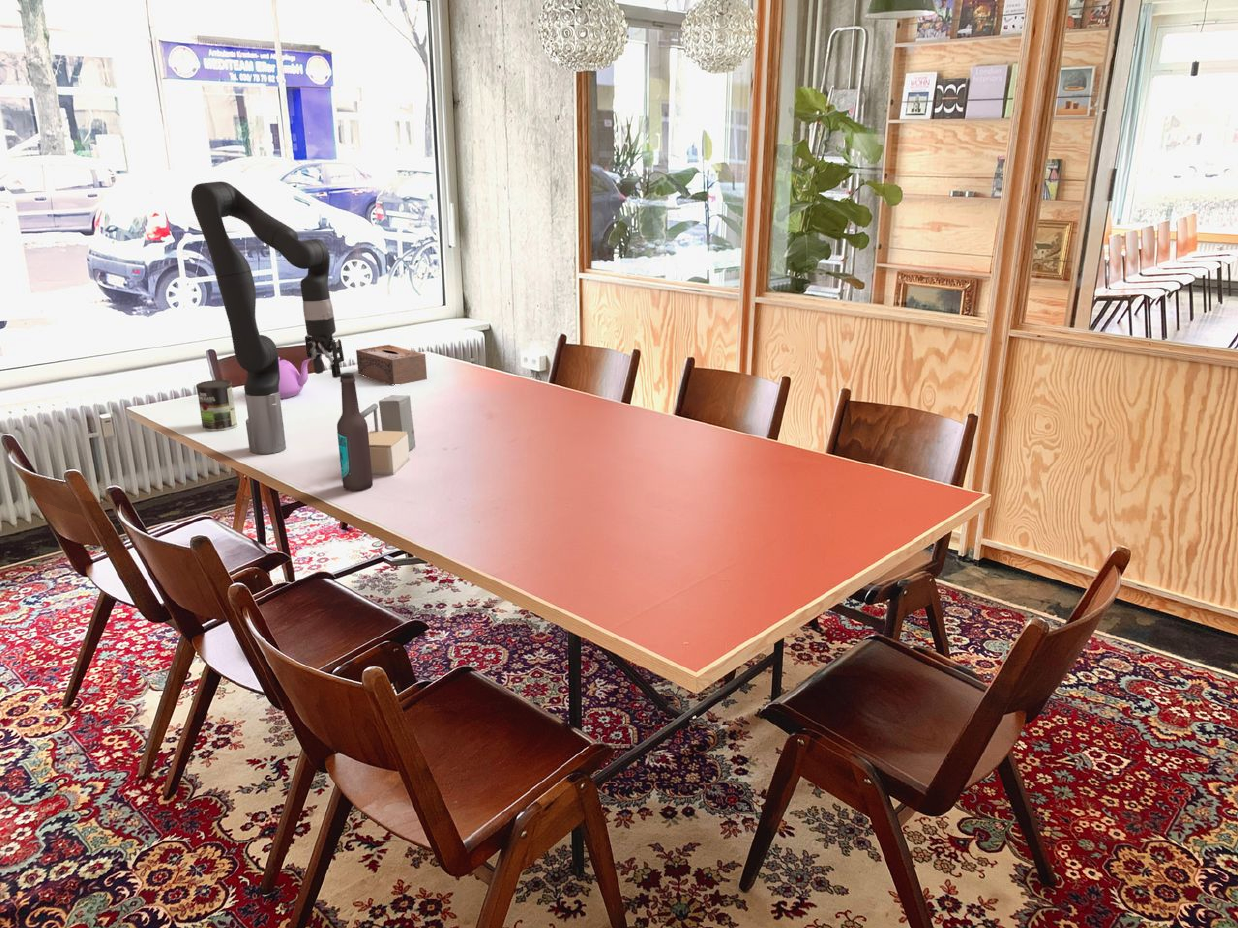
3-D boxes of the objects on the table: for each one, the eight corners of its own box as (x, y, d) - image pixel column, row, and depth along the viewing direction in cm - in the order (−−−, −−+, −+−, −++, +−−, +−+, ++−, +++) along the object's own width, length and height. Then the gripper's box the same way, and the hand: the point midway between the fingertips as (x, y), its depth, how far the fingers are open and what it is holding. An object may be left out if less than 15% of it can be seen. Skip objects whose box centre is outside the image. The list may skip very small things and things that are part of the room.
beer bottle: (341, 484, 243) (329, 371, 234) (370, 480, 246) (360, 369, 236) (345, 493, 237) (333, 378, 227) (375, 489, 239) (364, 375, 230)
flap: (353, 445, 249) (350, 415, 246) (371, 432, 261) (368, 402, 258) (391, 446, 248) (388, 416, 245) (407, 433, 260) (404, 404, 257)
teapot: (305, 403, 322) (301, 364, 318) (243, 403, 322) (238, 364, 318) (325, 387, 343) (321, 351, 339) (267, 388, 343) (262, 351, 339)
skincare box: (405, 455, 266) (400, 401, 261) (381, 453, 268) (377, 400, 263) (416, 446, 274) (412, 394, 269) (394, 445, 275) (389, 393, 270)
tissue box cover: (358, 375, 363) (356, 350, 360) (390, 369, 373) (388, 344, 370) (394, 386, 346) (392, 360, 343) (427, 379, 356) (425, 354, 353)
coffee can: (220, 433, 288) (214, 388, 284) (195, 429, 292) (188, 385, 287) (244, 424, 297) (239, 381, 293) (220, 421, 301) (213, 378, 296)
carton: (353, 473, 251) (351, 447, 248) (372, 457, 264) (370, 432, 261) (393, 475, 249) (390, 448, 247) (410, 459, 263) (408, 433, 260)
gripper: (292, 316, 251) (301, 375, 256) (321, 321, 242) (330, 381, 247) (316, 312, 256) (325, 369, 262) (346, 316, 247) (354, 375, 253)
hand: (328, 375), depth 254 cm, fingers open, 8 cm apart
